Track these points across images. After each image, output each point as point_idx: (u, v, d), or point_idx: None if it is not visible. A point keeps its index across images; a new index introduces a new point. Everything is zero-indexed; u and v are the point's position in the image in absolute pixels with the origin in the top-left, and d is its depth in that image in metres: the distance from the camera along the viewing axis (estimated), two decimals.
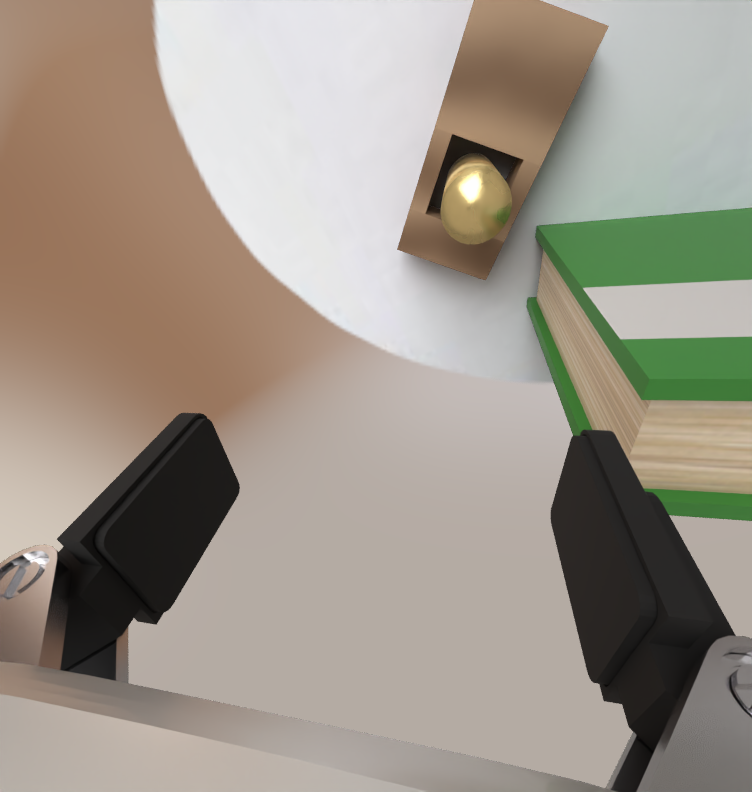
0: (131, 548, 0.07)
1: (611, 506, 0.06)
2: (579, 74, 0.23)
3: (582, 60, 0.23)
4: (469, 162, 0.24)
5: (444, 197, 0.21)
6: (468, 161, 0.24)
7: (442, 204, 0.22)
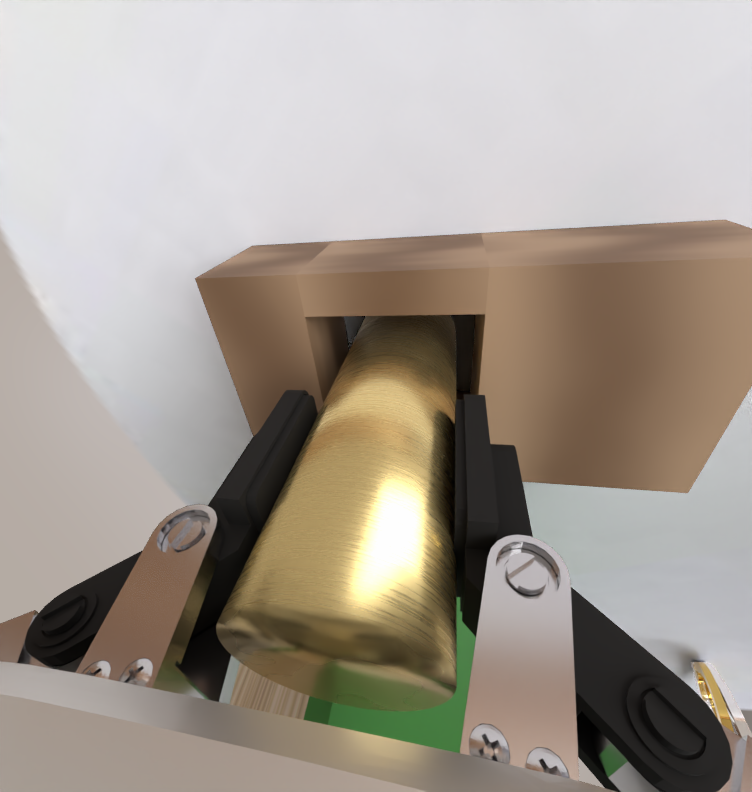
0: (270, 510, 0.08)
1: (461, 450, 0.08)
2: (617, 481, 0.13)
3: (638, 479, 0.13)
4: (445, 444, 0.09)
5: (309, 609, 0.05)
6: (445, 419, 0.09)
7: (284, 606, 0.05)
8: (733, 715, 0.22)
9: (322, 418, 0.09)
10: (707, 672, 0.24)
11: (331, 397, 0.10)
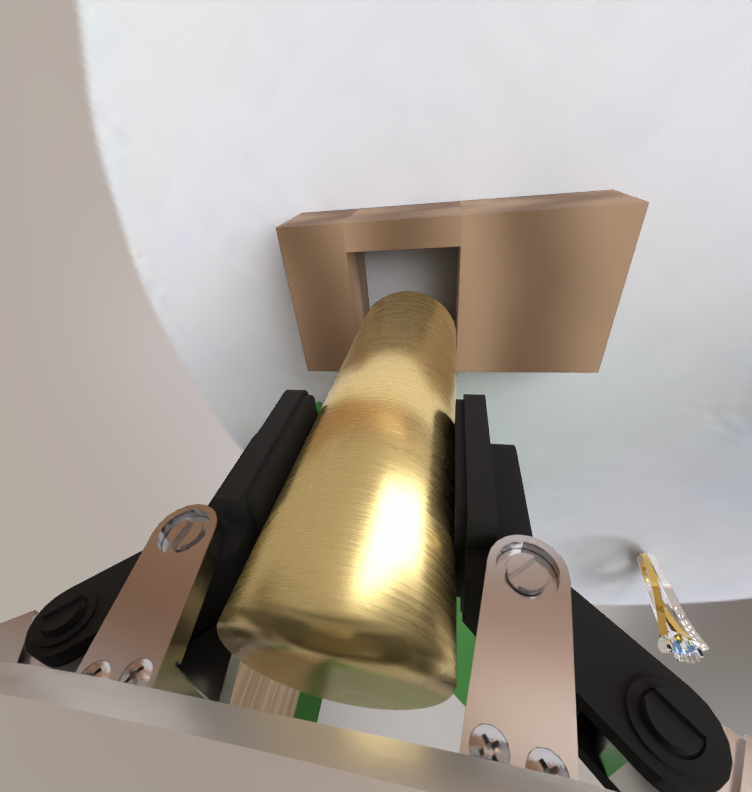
0: (270, 510, 0.08)
1: (461, 449, 0.08)
2: (552, 367, 0.20)
3: (565, 363, 0.19)
4: (445, 444, 0.09)
5: (310, 608, 0.05)
6: (445, 419, 0.09)
7: (285, 605, 0.05)
8: (660, 579, 0.28)
9: (322, 417, 0.09)
10: (645, 556, 0.31)
11: (331, 397, 0.10)
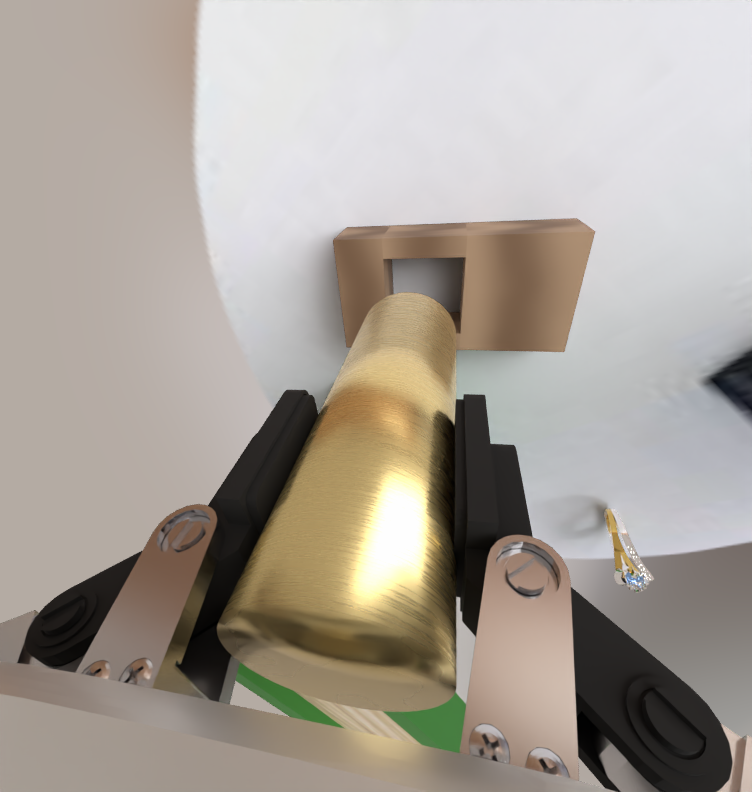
0: (270, 510, 0.08)
1: (461, 450, 0.08)
2: (530, 347, 0.26)
3: (540, 344, 0.26)
4: (445, 445, 0.09)
5: (310, 610, 0.05)
6: (445, 420, 0.09)
7: (285, 607, 0.05)
8: (618, 526, 0.35)
9: (322, 419, 0.09)
10: (608, 510, 0.38)
11: (331, 398, 0.10)
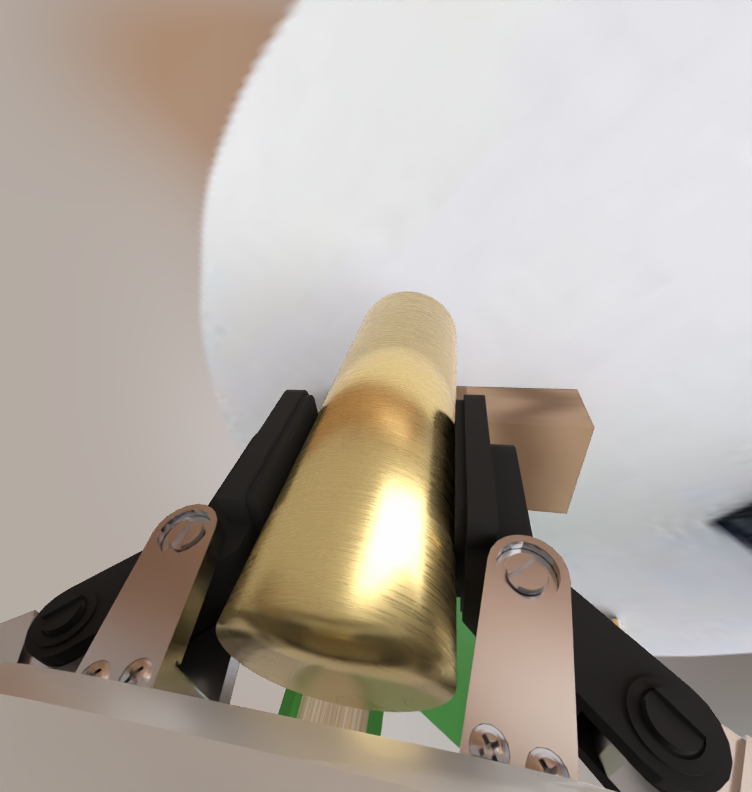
0: (270, 510, 0.08)
1: (461, 449, 0.08)
2: (532, 507, 0.27)
3: (542, 506, 0.26)
4: (444, 444, 0.09)
5: (309, 610, 0.05)
6: (444, 420, 0.09)
7: (284, 607, 0.05)
8: None
9: (322, 418, 0.09)
10: (616, 623, 0.38)
11: (331, 397, 0.10)
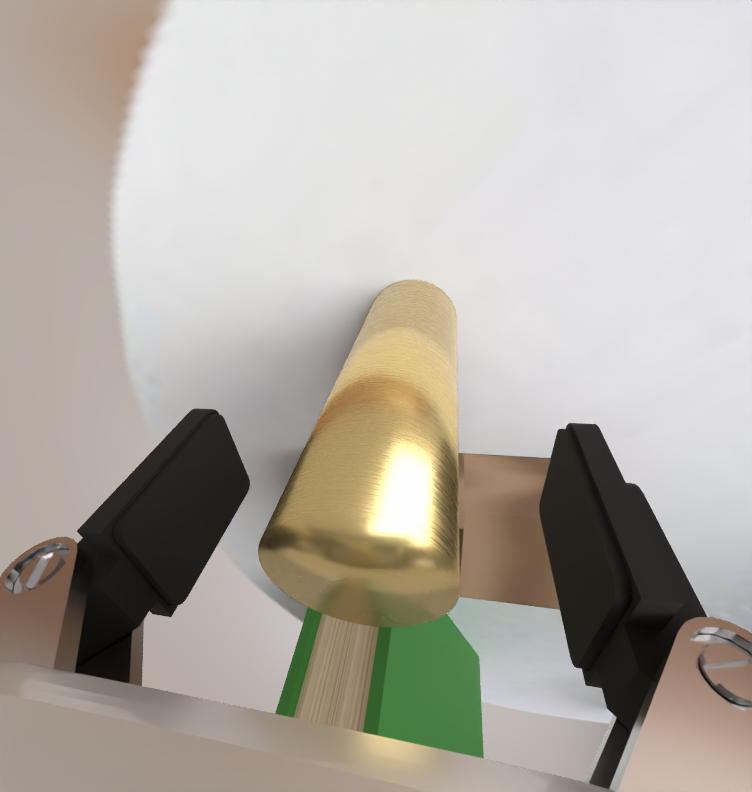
0: (148, 541, 0.08)
1: (592, 496, 0.07)
2: (547, 605, 0.21)
3: None
4: (448, 406, 0.10)
5: (341, 517, 0.06)
6: (448, 387, 0.10)
7: (320, 516, 0.06)
8: None
9: (339, 385, 0.10)
10: None
11: (346, 369, 0.11)
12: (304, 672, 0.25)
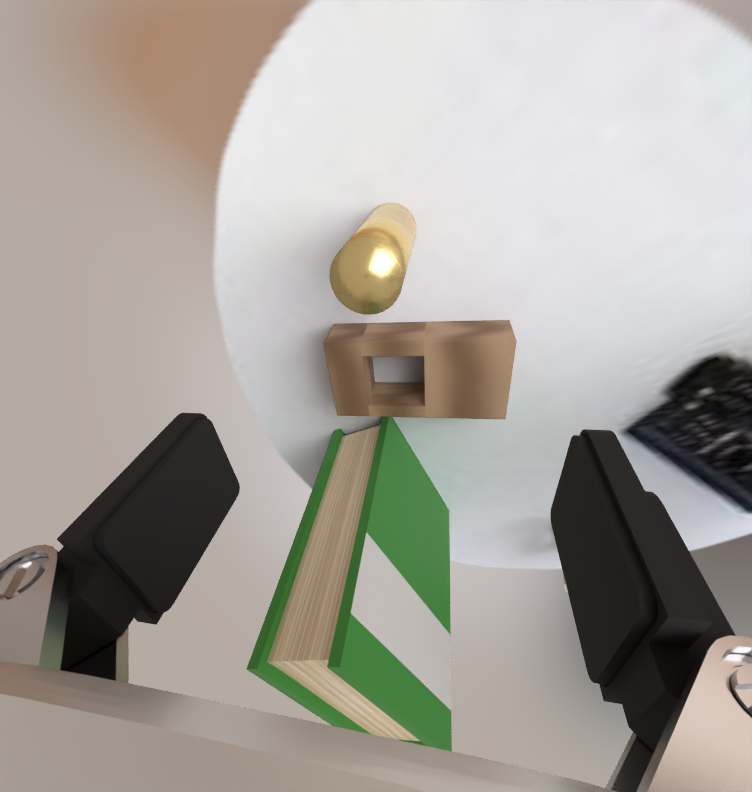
0: (131, 548, 0.07)
1: (611, 506, 0.06)
2: (479, 415, 0.34)
3: (486, 414, 0.34)
4: (403, 238, 0.23)
5: (361, 243, 0.19)
6: (404, 234, 0.23)
7: (354, 244, 0.19)
8: None
9: None
10: None
11: None
12: (326, 480, 0.37)
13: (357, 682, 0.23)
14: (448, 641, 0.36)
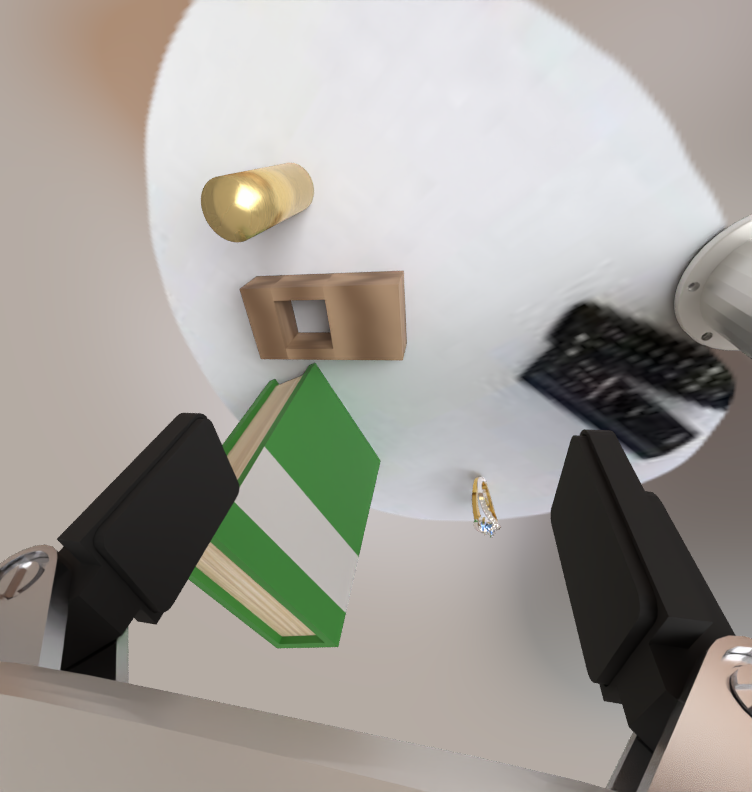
0: (131, 548, 0.07)
1: (611, 506, 0.06)
2: (380, 357, 0.38)
3: (386, 355, 0.38)
4: (274, 183, 0.27)
5: (220, 177, 0.24)
6: (278, 181, 0.28)
7: (214, 178, 0.24)
8: (478, 488, 0.47)
9: None
10: (477, 477, 0.49)
11: None
12: (252, 418, 0.42)
13: (231, 552, 0.27)
14: (354, 560, 0.40)
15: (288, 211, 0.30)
